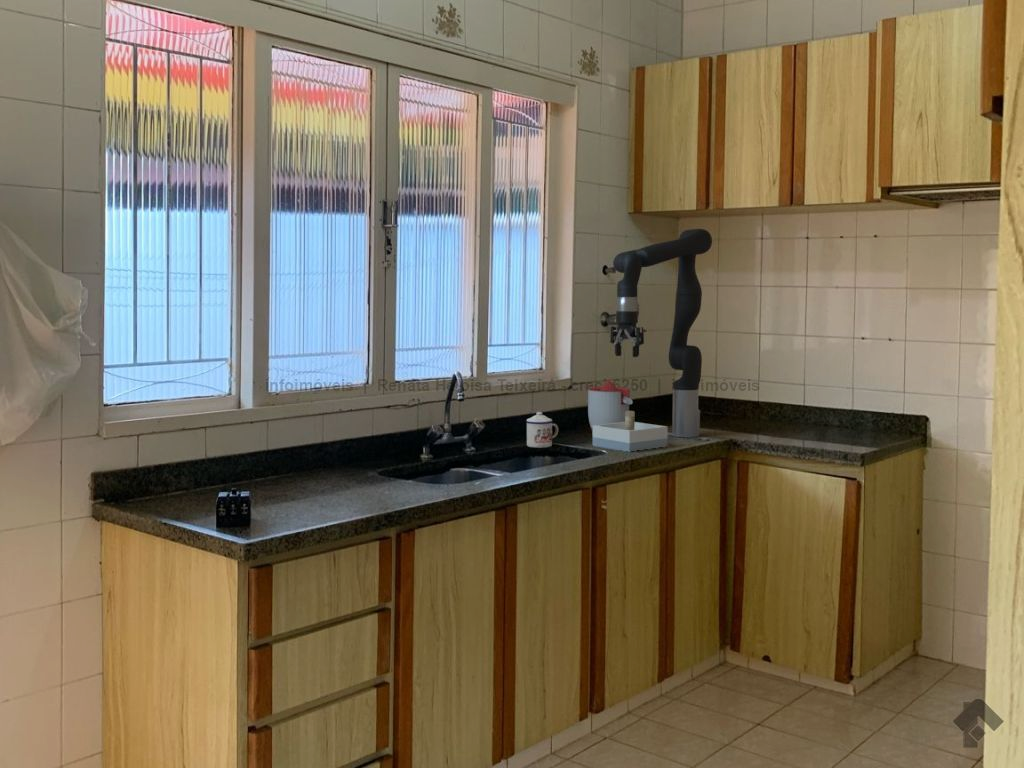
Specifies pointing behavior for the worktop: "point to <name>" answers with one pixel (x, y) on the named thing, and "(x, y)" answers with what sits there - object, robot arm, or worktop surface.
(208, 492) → the worktop surface
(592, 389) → the citrus juicer
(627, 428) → the peg
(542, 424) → the teacup with lid
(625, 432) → the box
